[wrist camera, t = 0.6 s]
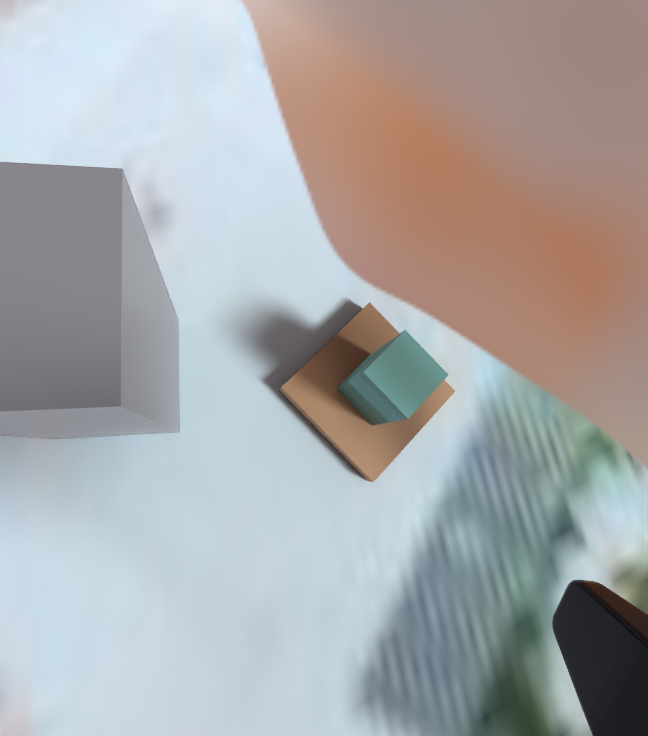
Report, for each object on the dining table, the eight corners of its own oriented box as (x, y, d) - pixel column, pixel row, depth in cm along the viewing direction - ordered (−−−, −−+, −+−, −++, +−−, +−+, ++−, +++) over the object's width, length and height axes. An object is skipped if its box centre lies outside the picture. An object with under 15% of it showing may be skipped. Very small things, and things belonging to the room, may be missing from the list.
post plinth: (367, 480, 22) (411, 489, 17) (278, 389, 22) (295, 370, 17) (445, 393, 24) (508, 376, 19) (363, 308, 24) (403, 266, 18)
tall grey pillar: (179, 432, 21) (121, 406, 9) (51, 438, 20) (-193, 419, 8) (178, 319, 22) (122, 168, 10) (55, 320, 21) (-162, 153, 9)
